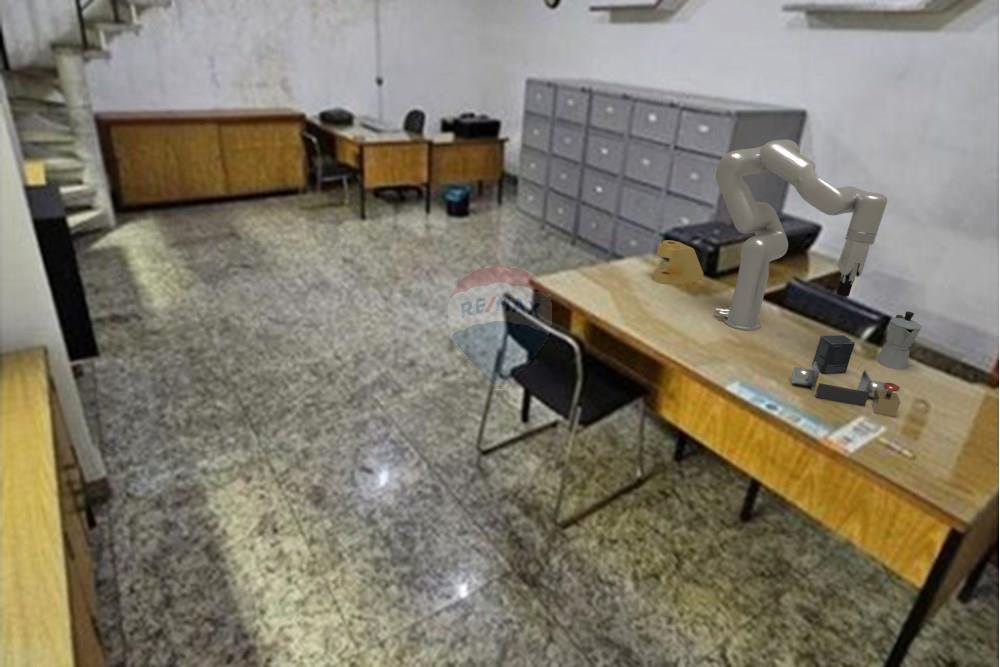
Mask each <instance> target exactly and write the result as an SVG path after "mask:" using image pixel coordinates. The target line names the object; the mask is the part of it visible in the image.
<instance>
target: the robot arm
mask: <svg viewBox="0 0 1000 667" xmlns="http://www.w3.org/2000/svg"><path fill="white" fill-rule="evenodd" d="M800 150H801V149H800V147H799V145H798V144H797V142H795V141H793V140H791V139H775V140H770V141H768V142H767V143H765V144H764V145H762V146H761V145H760V146H757V147H754V148H744V149H743V148H742V149H736V150H731V151H730V152H729V151H728V152H727V153H725V155H723V156H722V157H721V158H720V159H719V162H718V163H717V166H716V168H715V180H716V181H715V182H716V184H717V187H718V189H719V191H720V193H721V195H722V198H723V200H724V202H725V205H726V207H727V210H728V213H729V215H730V217H731V220H732V223H733V226H734V227H735V229H736V230H737V231H738V232H739V233H741V234H751V233H752V234H755V235H753V236H751V237H749V238H748V239H746V240H745V242H744V243H743V244H742V247H741V250H740V260H739V261H740V263H739V269H738V274H737V278H736V283H735V288H734V291H733V294H732V295H733V296H732V300H731V304H730V305H729V306H728V308H721V307H718V306H717V307H715V311H714V314H715V313H716V314H718V316H722V321H723V323H725V324H726V325H727V326H729V327H731V328H734V329H737V330H741V331H749V332H750V331H751V332H752V331H758V330H759V329H761V327H762V322H761V321H760V320H759V315H760V312H761V308H762V304H763V302H764V301H763V300H764V297H765V292H766V288H767V284H768V281H769V276H770V274H769V273H770V262H773V261H775V260H778V259H780V258H782V257H783V256H785V254H787V251H788V249H789V248H788V247H789V241H788V238H787V235H786V232H785V230H784V228H783V225H782V222H781V221H780V218H779V216H778V214H777V211H776V210H775V208H774V207H773V206H772V205H771V204H769V203H768V202H765V201H758V202H756V199H755V198H754V196H753V194H752V190H751V189H750V187H749V185H748V184H747V183H746V182H745V181H744V179H743V177H744V176H751V175H757V174H761V173H765V172H772V173H773V174H775V175H776V176H778V177H780V178H781V179H783V180H784V181H786V182H787V183H788V184H790V185H791V186H793V187H794V189H795V190H796V192H797V193H798V194H799V196H800V197H801V198H802V199H803V200H804V201H805V202H806V203H808V204H809V205H810V206H812V207H814V209H816V210H818V211H819V212H821V213H823V214H825V215H827V216H828V215H829V216H839V215H842V214H843V215H844V214H848V213H851V218H850V222H849V225H848V228H847V231H846V234H845V237H844V239H845V242H844V245H843V248H842V251H841V254H840V256H839V258H838V261H837V262H838V263H837V267H838V268H837V269H838V270H839V271H840V273H841V276H840V280H839V282H838V285H837V289H836V294H837V296H842V297H849V296H850V294H851V293H850V292H851V290H852V286H853V284H854V282H855V280H856V278H859V277H861V275H862V274H863V273H862V272H863V270H864V267H865V264H866V261H867V258H868V253H869V250H870V246H871V245H874V243H875V242H876V241H875V240H876V237H877V234H878V232H879V229H880V225H881V222H882V219H883V216H884V214H885V210H886V207H887V204H888V197H886V195H884V194H881V193H878V192H877V193H876V192H870V191H865V190H862V189H860V188H857V187H855V186H847V185H846V186H843V187H836V188H835V187H834V186H832V185H831V184H829V183H827V182H826V181H824V180H823V179H822V178H821V177H819V176H818V175H817V173H816V164H815V162H814V161H812V160H811V159H809V158H808V157H806V156H805V155H803V154H802V153H801V151H800Z"/></svg>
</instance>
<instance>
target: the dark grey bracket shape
mask: <svg viewBox="0 0 1000 667" xmlns="http://www.w3.org/2000/svg"><path fill="white" fill-rule="evenodd" d="M812 364H813V366H812V367H811V369H809V368H802V367H797V366H794V367H793V369H792V371H791V377H790V383H791V384H792V385H798V386H799V385H800V386H804V387H809V388H810V390H811V392H814V391H815V388H816V385H817V382H818V379H819V375H820V374H821V373H820V371H819V368H818V365H817V362H815V361H814V363H813V362H812ZM885 383H886V382H883V381H882V382H880V381H875V380H872V379H871V376H870V375H869V373H868V371H867V370H865V369H864V370H863V372H862V375H861V377H860V380H859V383H858V386H857V389H854V388H847V387H841V386H836V385H831V384H825V383H821V382H819V383H818V385H817V388H816V392H815V394H814V395H815V396H814V397H815V398H816V399H821V400H827V401H831V402H832V401H833V402H837V403H842V404H843V403H844V404H849V405H854V406H855V405H856V406H860V407H861V406H862V407H866V404H867V401H868V398H870V399H873V398H874V395H875V392H876V390H882V391H888V389H886V388H885V387H884V384H885Z"/></svg>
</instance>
